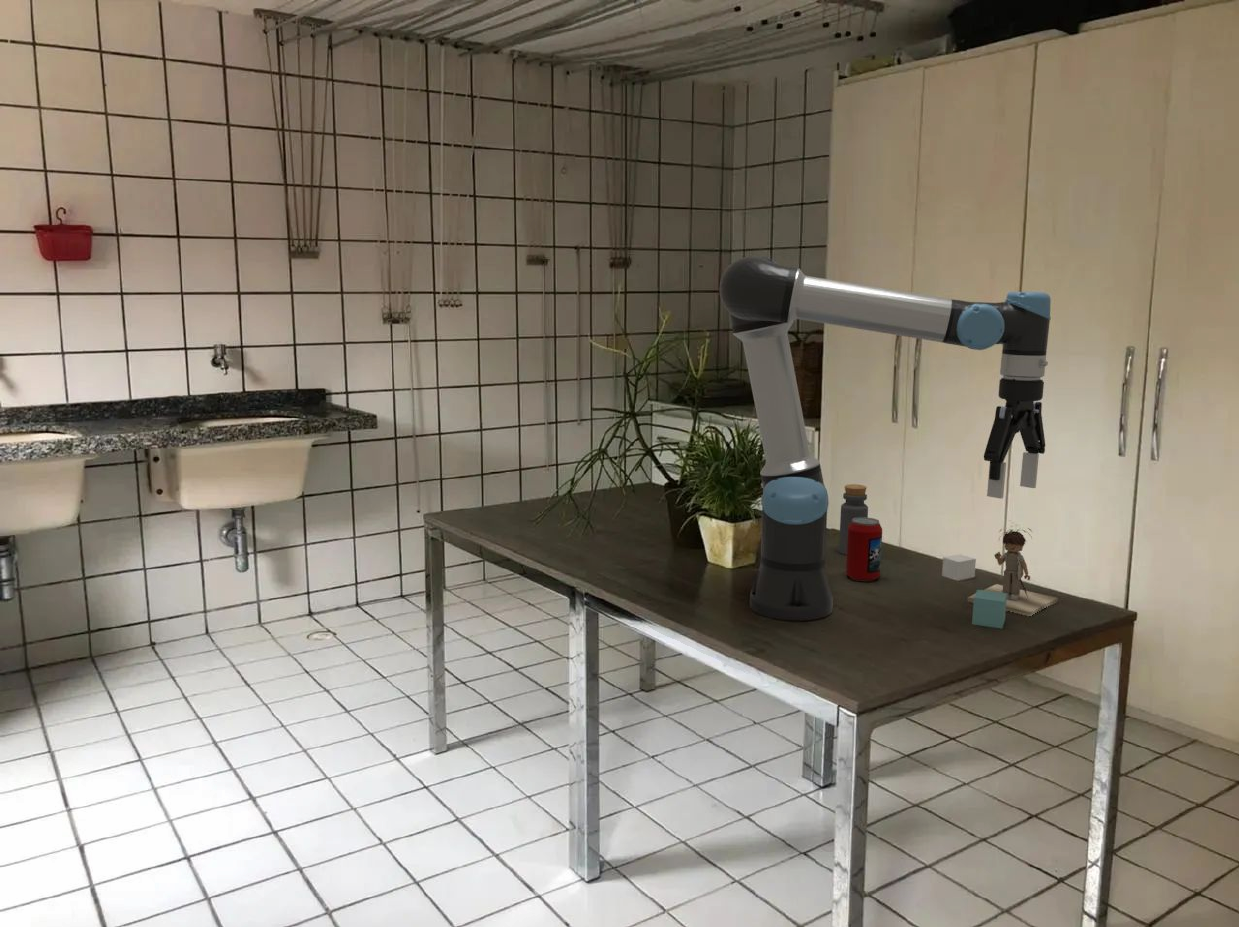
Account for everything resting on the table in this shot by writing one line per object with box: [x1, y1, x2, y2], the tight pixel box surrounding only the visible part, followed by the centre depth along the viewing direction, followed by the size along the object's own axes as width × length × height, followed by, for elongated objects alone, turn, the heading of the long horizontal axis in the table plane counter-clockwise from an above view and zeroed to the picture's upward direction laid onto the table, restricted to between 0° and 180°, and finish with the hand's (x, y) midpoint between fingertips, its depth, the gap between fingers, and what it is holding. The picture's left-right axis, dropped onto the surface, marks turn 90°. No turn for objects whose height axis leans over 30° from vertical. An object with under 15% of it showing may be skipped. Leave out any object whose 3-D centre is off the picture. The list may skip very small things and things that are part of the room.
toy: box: [993, 520, 1033, 600], centre depth 187 cm, size 6×6×15 cm
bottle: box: [838, 483, 869, 556], centre depth 221 cm, size 6×6×15 cm
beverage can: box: [845, 517, 883, 582], centre depth 202 cm, size 7×7×12 cm
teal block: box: [971, 589, 1007, 630], centre depth 177 cm, size 5×5×5 cm
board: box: [966, 583, 1059, 617], centre depth 188 cm, size 12×12×1 cm
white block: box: [941, 553, 977, 582], centre depth 204 cm, size 5×4×4 cm
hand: (1011, 492), depth 186 cm, fingers open, 13 cm apart
